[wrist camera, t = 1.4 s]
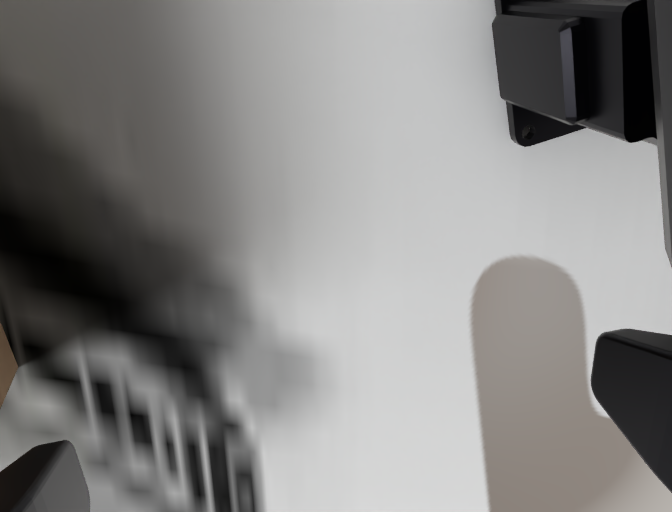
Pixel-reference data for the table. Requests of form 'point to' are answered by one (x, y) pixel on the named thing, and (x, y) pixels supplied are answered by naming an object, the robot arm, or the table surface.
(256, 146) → the table surface
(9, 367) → the walnut block
